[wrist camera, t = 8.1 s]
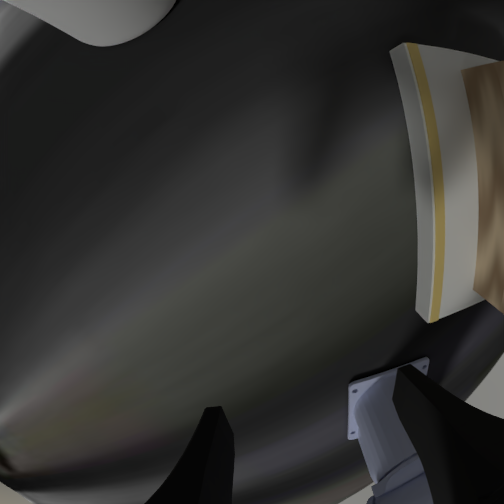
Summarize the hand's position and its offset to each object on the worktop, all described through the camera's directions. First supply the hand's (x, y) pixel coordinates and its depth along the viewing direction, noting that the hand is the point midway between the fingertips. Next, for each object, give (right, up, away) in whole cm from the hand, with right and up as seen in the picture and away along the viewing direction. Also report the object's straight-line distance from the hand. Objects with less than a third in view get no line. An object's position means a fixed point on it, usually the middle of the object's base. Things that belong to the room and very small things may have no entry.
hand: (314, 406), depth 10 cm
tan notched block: (+15, +11, +4) cm, 19 cm away
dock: (+15, +12, +6) cm, 20 cm away
